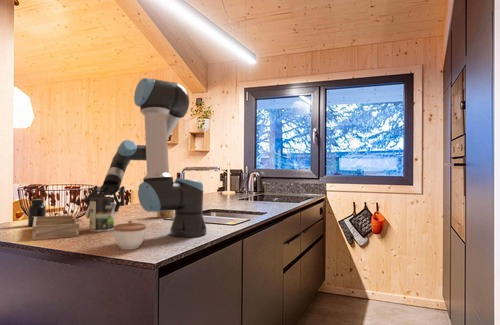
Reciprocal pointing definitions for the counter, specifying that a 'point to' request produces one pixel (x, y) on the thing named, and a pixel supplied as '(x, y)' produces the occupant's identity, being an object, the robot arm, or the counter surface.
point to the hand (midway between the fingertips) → (99, 217)
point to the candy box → (165, 213)
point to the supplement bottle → (36, 210)
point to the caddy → (55, 227)
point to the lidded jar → (129, 235)
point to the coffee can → (101, 214)
